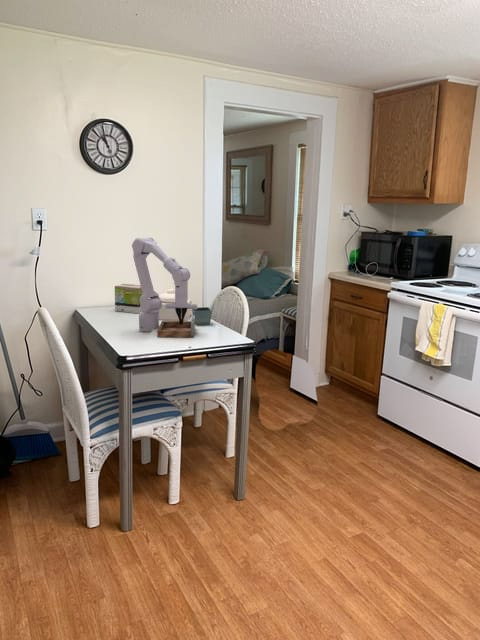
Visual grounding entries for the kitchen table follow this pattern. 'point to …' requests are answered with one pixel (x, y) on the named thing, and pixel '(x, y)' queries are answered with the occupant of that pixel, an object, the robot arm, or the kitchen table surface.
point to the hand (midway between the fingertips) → (181, 324)
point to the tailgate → (193, 325)
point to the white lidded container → (171, 313)
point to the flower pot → (202, 315)
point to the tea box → (128, 298)
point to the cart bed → (174, 329)
